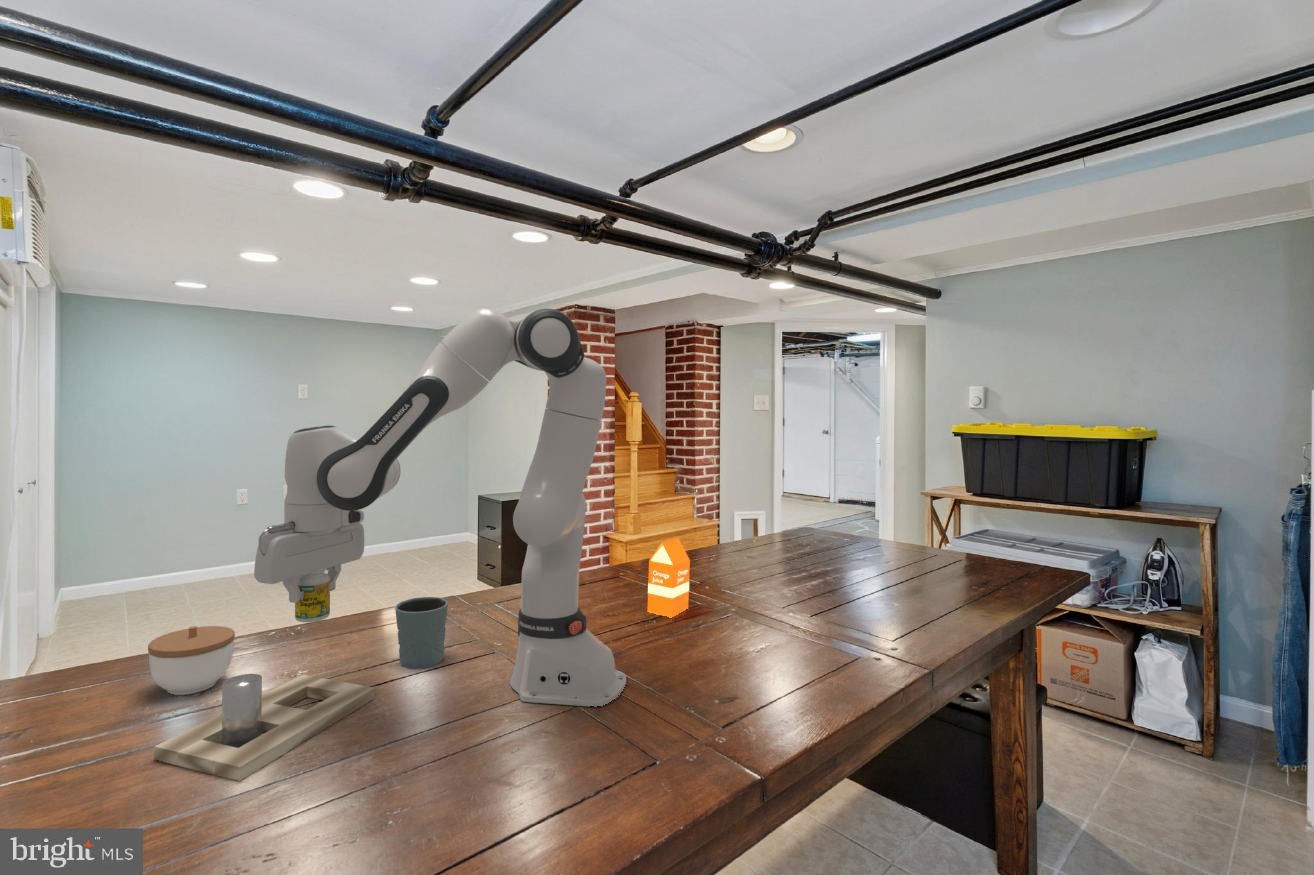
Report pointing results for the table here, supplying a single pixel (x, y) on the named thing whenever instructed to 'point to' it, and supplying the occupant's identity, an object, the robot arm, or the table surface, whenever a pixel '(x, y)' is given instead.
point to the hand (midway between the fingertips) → (313, 595)
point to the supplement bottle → (314, 597)
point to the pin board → (266, 728)
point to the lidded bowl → (191, 658)
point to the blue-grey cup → (421, 631)
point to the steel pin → (241, 709)
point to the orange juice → (668, 579)
